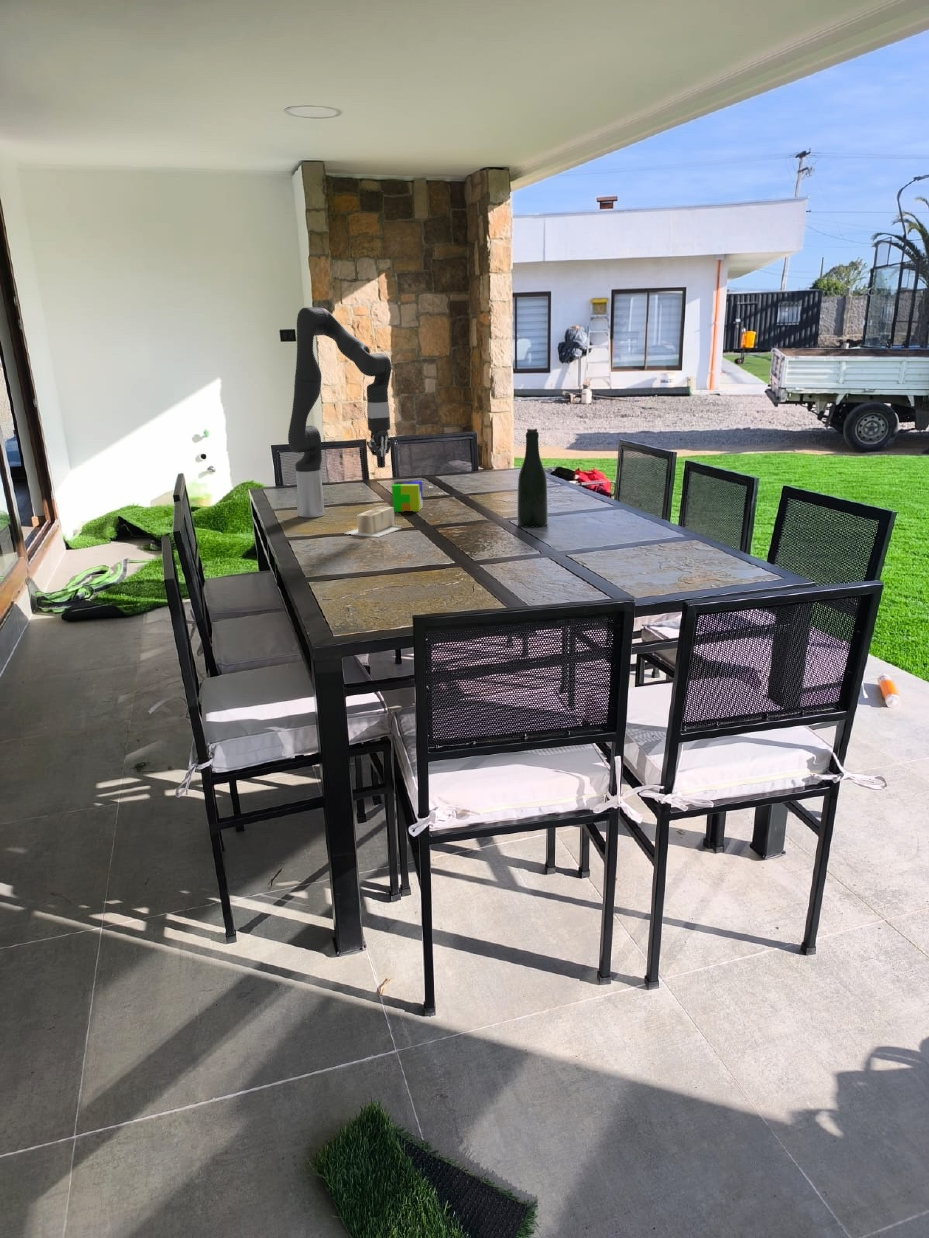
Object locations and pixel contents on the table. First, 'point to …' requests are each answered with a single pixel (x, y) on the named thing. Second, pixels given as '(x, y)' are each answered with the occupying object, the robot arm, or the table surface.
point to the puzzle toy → (407, 496)
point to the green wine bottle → (532, 486)
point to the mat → (376, 534)
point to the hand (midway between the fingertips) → (381, 467)
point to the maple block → (375, 519)
